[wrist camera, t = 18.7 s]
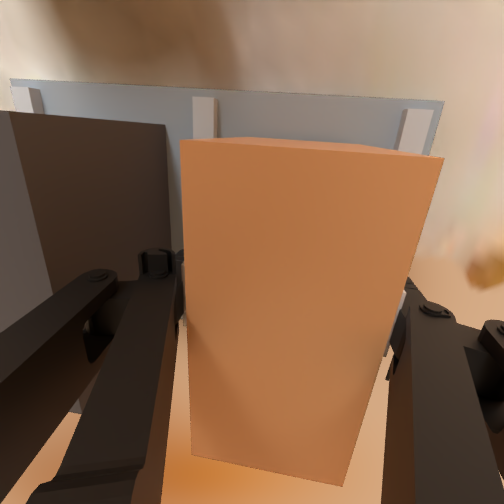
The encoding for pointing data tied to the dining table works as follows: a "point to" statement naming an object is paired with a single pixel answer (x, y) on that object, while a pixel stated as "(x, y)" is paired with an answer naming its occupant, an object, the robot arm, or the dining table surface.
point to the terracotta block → (293, 292)
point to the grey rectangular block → (76, 205)
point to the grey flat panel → (236, 118)
